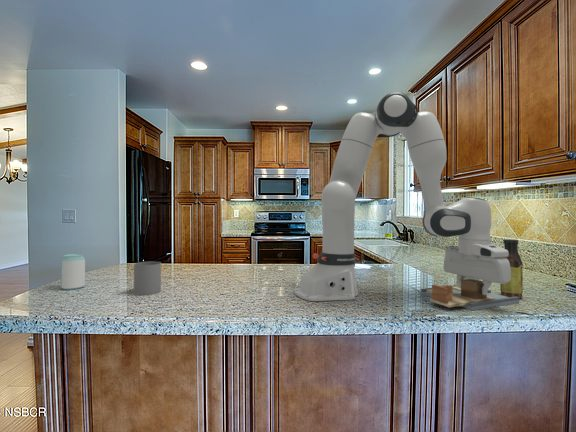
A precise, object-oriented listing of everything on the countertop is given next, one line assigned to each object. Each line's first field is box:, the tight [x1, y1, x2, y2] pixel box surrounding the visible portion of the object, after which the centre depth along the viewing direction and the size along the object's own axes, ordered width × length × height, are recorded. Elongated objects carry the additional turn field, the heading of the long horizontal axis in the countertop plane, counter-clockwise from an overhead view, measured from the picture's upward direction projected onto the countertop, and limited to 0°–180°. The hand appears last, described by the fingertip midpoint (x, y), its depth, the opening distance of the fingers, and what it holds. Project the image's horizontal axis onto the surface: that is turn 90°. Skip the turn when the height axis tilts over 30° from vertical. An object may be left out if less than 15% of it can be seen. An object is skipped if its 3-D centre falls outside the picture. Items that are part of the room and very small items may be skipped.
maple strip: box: [429, 284, 495, 308], centre depth 94 cm, size 20×7×5 cm, turn 112°
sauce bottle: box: [499, 238, 524, 299], centre depth 104 cm, size 7×6×20 cm
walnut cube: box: [461, 279, 487, 300], centre depth 96 cm, size 5×5×5 cm
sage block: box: [456, 276, 480, 288], centre depth 108 cm, size 5×5×5 cm
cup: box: [133, 260, 162, 297], centre depth 104 cm, size 8×8×10 cm
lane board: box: [420, 284, 520, 311], centre depth 101 cm, size 22×19×2 cm
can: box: [60, 253, 86, 291], centre depth 108 cm, size 7×7×12 cm
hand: (473, 291), depth 96 cm, fingers closed on walnut cube, 5 cm apart
